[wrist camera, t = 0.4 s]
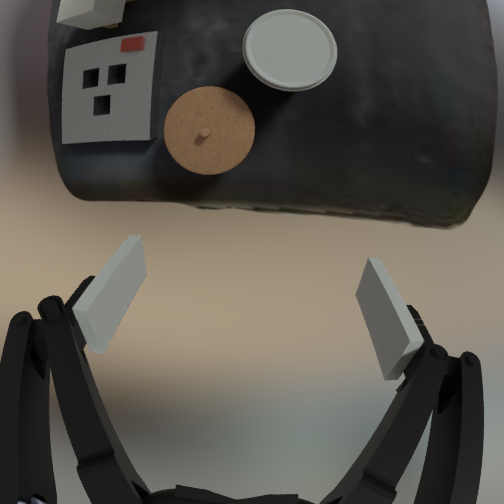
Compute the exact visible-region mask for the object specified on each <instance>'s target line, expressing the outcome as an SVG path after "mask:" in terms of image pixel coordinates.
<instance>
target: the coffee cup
mask: <svg viewBox="0 0 504 504" xmlns="http://www.w3.org/2000/svg"><path fill="white" fill-rule="evenodd" d="M242 49H243V56H244V60H245V62H246V64H247V66H248V68H249V70H250V71H251V72H252V74H253V75H254V76H255V77H256V78H258V79H259V80H260V81H261V82H263V83H264V84H266V85H268V86H270V87H273V88H275V89H279V90H283V91H303V90H307V89H310V88H313V87H315V86H317V85H319V84H320V83H322V82H323V81H324V80H325V79H326V78H327V77H328V76H329V75H330V74H331V72H332V70H333V69H334V66H335V63H336V59H337V47H336V43H335V40H334V37H333V35H332V34H331V32H330V30H329V29H328V28H327V27H326V26H325V25H324V24H323V23H322V22H321V21H320V20H318V19H317V18H315V17H314V16H312V15H310V14H308V13H305V12H302V11H298V10H289V9H284V10H276V11H272V12H269V13H266V14H264V15H262V16H261V17H259V18H258V19H257V20H255V21H254V22H253V23H252V24H251V25H250V27H249V28H248V30H247V32H246V34H245V36H244V39H243V48H242Z"/></svg>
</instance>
